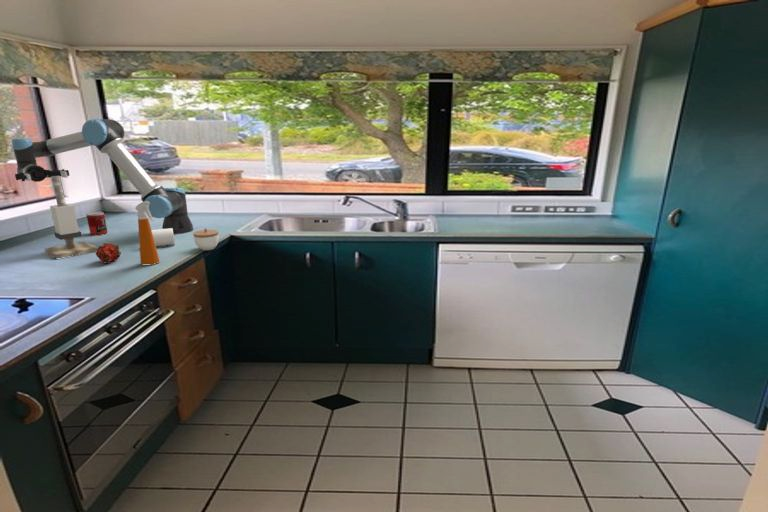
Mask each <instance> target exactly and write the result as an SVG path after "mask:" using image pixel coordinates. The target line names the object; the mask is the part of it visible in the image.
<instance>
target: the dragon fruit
mask: <svg viewBox="0 0 768 512" xmlns="http://www.w3.org/2000/svg"><path fill="white" fill-rule="evenodd" d="M97 248H98V249H97V252H95V255H96V257H97V258H98V259H99V260H100V261H101V262H102V263H103V262H109V261H110V262H111V263H112V262H113V261H112V260H116V261H118V259H119V258H120V257H121V254H122V252H121V251H120V248H119V245H117V244H114V243H113V242H109V243H107V242H104V243H102V245H100V246H98V247H97ZM110 262H109V263H110Z"/></svg>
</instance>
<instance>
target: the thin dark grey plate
mask: <svg viewBox="0 0 768 512" xmlns="http://www.w3.org/2000/svg"><path fill="white" fill-rule="evenodd" d="M53 233H54V237H55V238H56V239H59V240H63V241H64V239H69V238H74V239H75V238H80V237H83V236H82V235H83V234H82V231H80V230H79V232H76V233H70V234H64V235H60V234H58V233H56V231H55V232H53Z"/></svg>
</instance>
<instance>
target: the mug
mask: <svg viewBox="0 0 768 512" xmlns="http://www.w3.org/2000/svg"><path fill="white" fill-rule="evenodd" d="M151 231H152V235H153V238H154V242H155V246H159V247H167V246H166V245H169V246H174V245H176V243H175V236H174V234H173V229H172V228H169V229H162V228H158V229H151Z"/></svg>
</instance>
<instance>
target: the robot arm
mask: <svg viewBox="0 0 768 512" xmlns="http://www.w3.org/2000/svg"><path fill="white" fill-rule="evenodd" d="M124 137H125V129H124V127H123V125H122V124H121V123H120V122H119V121H116V120H115V119H107V118H106V119H105V118H104V119H103V118H102V119H99V118H93V119H88V120H87V121H85V122H84V124H83V125H82V127H81V131H78V132H74V133H69V134H66V135H62V136H58V137H57V136H56V137H54V138H49V139H45V140H41V141H32V139H31V138H13V139H12V140H11V144H12V149H13V152H14V153H13V154H14V157H15V161H16V166H17V168H16V171H17V173H14V176H15V177H14V178H15V180H16V181H20V180H21V182H26V181H29V182H34V183H36V182H37V183H39V182H42V181H45V180H46V178H51V176H60V178H69V176H70V171H69V170H68V169H64V168H63V169H62V168H61V170H60V169H51V170H50V169H45V168H43V167H42V166H41V165H38V163H37V158H38V159H39V158H48V157H52V156H55V155H59V154H62V153H66V152H70V151H75V150H78V149H83V148H87V147H91V146H95V147H96V149H98V151H99V152H100V153H101V154H106V155H107V156H108V157H109V158H110V160H111V161H112V162H113V163H114V164H115V166H116V167H117V168H118V169H119V170H120V171H121V172H122V174H123V175H124V176H125V177H126V179H127V180H128V181H129V182H130V183H131V184H132V186H133V187H134V188H135V190H137V191H138V192H139V194H140V195H141V197H140V200H141V201H142V202H144V201H148V202H149V203H150V204H149V211H150V213H151V215H152V217H153V218H155V219H162V218H163V220H162V227H161V229H169V228H172V229H173V235H174V234H184V233H189V232H191V231H193V230H194V224H192V221H191V219H190V216H189V214H188V207H187V206H188V205H187V197H186V195H187V194H186V191H185V189H184V187H183V188H182V187H164V186H162V185H159V184H157V183H156V182H155V181H154V180H153V178H152V177H151V176H150V175H149V174H148V173H147V171H146V170H145V168H143V167H142V165H141V164H140V163H139V162H138V160H137V159H136V158H135V157H134V156H133V154H132V153H131V152H130V151H129V150H128V148H126V146H125V145H124V144H123V143H124Z"/></svg>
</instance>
